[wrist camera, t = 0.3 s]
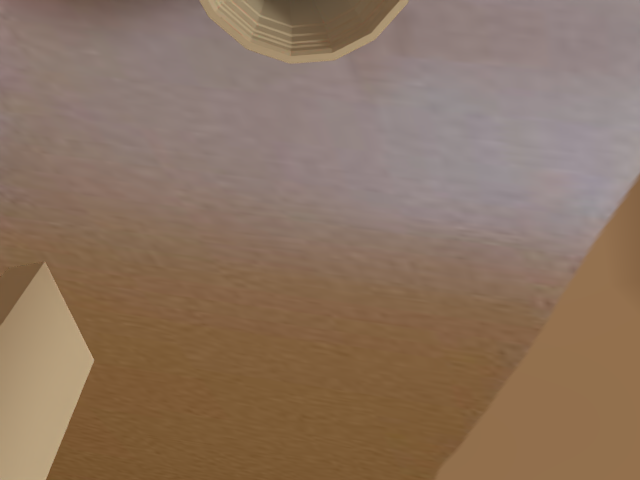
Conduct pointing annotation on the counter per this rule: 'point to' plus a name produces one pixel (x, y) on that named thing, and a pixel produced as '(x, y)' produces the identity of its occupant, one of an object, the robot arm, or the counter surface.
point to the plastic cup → (303, 25)
